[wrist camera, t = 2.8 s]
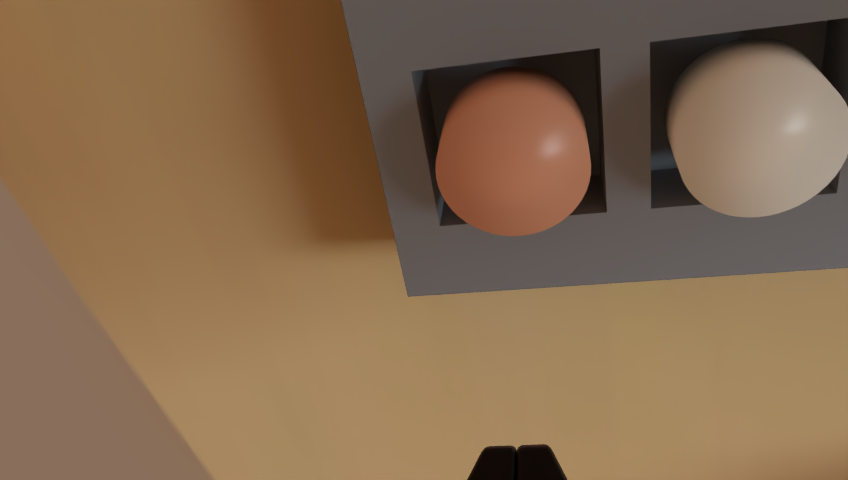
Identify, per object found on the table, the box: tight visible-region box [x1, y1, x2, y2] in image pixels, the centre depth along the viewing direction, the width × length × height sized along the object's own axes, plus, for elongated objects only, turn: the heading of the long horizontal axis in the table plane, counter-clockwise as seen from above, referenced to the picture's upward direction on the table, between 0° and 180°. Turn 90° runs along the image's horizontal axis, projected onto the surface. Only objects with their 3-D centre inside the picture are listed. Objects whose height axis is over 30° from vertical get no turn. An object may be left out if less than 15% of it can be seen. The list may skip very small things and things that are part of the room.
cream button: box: [664, 37, 848, 218], centre depth 17 cm, size 4×4×2 cm
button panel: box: [341, 0, 848, 297], centre depth 19 cm, size 18×9×3 cm, turn 100°
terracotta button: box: [435, 66, 591, 236], centre depth 18 cm, size 4×4×2 cm
